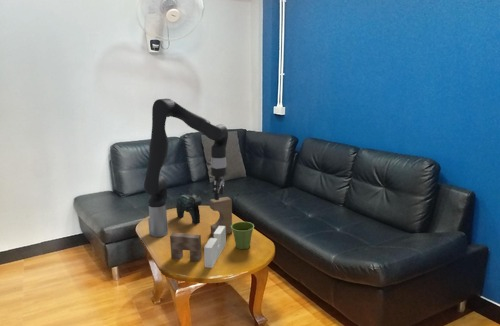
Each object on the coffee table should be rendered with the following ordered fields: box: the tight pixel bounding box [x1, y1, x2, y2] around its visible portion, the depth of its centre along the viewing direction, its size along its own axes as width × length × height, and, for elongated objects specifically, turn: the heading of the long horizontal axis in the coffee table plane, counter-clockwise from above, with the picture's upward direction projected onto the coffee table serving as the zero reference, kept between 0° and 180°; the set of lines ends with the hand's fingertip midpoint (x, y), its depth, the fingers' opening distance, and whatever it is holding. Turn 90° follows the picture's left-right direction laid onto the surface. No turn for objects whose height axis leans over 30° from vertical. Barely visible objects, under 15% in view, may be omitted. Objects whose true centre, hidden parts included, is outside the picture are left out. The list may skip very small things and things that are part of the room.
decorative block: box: [209, 196, 233, 237], centre depth 190 cm, size 11×6×20 cm, turn 116°
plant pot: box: [231, 221, 255, 250], centre depth 176 cm, size 12×12×11 cm
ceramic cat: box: [175, 189, 202, 225], centre depth 208 cm, size 20×6×20 cm, turn 49°
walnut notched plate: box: [169, 232, 203, 262], centre depth 164 cm, size 14×4×12 cm, turn 79°
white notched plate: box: [203, 226, 227, 269], centre depth 168 cm, size 4×24×10 cm, turn 169°
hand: (218, 196), depth 173 cm, fingers open, 8 cm apart
